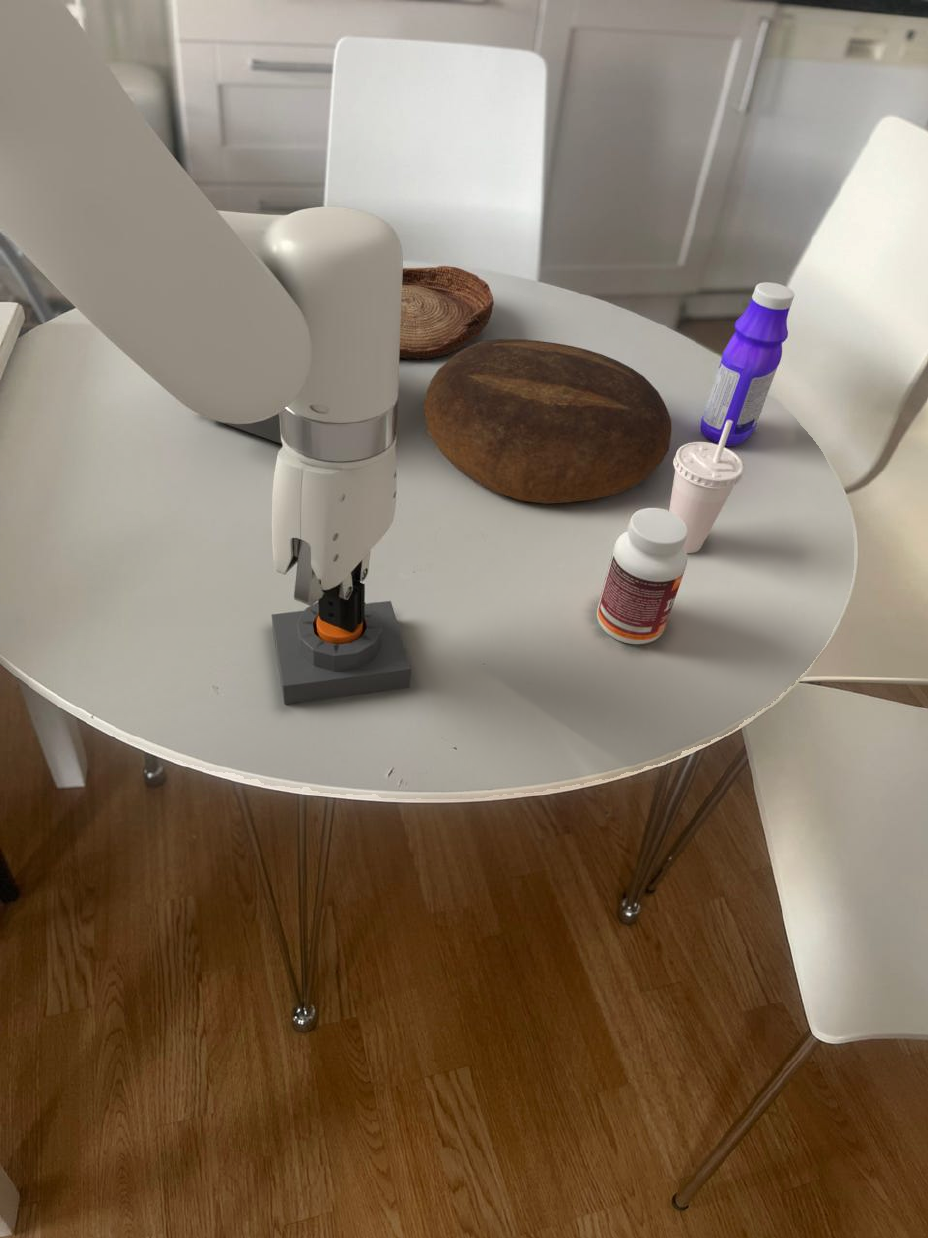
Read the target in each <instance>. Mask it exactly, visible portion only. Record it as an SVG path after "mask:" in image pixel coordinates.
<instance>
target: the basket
mask: <svg viewBox="0 0 928 1238" xmlns="http://www.w3.org/2000/svg"><path fill="white" fill-rule="evenodd" d="M494 301H495V300H494V296H493V293H492V291H491V288H490V286H489V284H488V283H487V282H486V281H485V280H483V279H481V278H480V277H479V276H478V275H476V274H474V273H472V272H470V271H467V270H465V269H462V268H459V267H456V266H449V265H438V266H436V267H430V266H429V267H403V277H402V302H401V326H400V352H399V358H400V359H401V358H402V359H408V360H409V359H410V360H411V359H422V360H427V359H433V358H438V357H441V356H445V355H448V354H450V353H453V352H455V351H457V350H459V349H460V348H462V347H463V346H465V345H466V344H468V343H469V342H471V341H472V340H473V339H475V338H476V337H478V336H479V335H480V334H481V333H482V332H483V331H484V329H485V328H486V327H487V325H488V324H489V322H490V319H491V317H492V314H493V309H494V305H495V304H494V303H495V302H494Z"/></svg>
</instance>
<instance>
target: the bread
mask: <svg viewBox="0 0 928 1238" xmlns="http://www.w3.org/2000/svg"><path fill="white" fill-rule="evenodd" d="M423 410H424V417H425V423H426V429H427V430H426V431H427V432H428V434H429V436H430V437H431V439H432V441H433V442H434V444H435V446H436V447H437V449H438V450H439V452H440V453H441V454H442V455H443V456H444V457H445V458H446V459H447V460H448V461H449V462H450V463H451V464H452V465H453V466H454V467H455V468H456V469H457V470H458V471H460V472H461V473H462V474H464V475H466V476H467V477H469V478H470V479H472V480H473V481H474V482H476V483H478V484H480V485H481V486H483V487H485V488H487V489H489V490H491V491H493V492H494V493H497V494H500V495H503V496H505V497H508V498H513V499H516V500H519V501H523V502H531V503H539V504H558V503H560V504H561V503H572V502H580V501H587V500H593V499H599V498H605V497H610V496H613V495H616V494H619V493H621V492H624V491H627V490H630V489H632V488H633V487H635V486H636V485H638V484H639V483H641V482H643V481H644V480H646V478H647V477H649V476H650V475H651V474H652V473H653V472H654V471H656V469H657V468H659V466H660V465H661V464H662V462H663V461H664V460H665V458H666V456H667V454H668V452H669V451H670V444H671V438H672V431H673V429H672V418H671V415H670V413H669V410H668V407H667V406H666V403H665V401H664V399H663V398H662V396H661V394H660V393H659V391H658V389H656V387H654V386H653V384H652V383H651V382H650V381H649V380H648V379H647V378H646V377H645V376H644V375H643V374H641V373H640V372H638V371H636V370H635V369H634V368H632V367H630V366H628V365H626V364H624V363H623V362H620V361H618V360H617V359H614V358H612V357H609V356H607V355H604V354H601V353H599V352H596V351H593V350H589V349H585V348H583V347H578V346H573V345H568V344H563V343H557V342H551V341H543V340H535V339H534V340H533V339H523V338H522V339H521V338H496V339H490V340H489V339H488V340H483V341H478V342H476V343H474V344H471V345H469V346H467V347H465V348H464V349H461V350H459V351H458V352H457V353H455V354H454V355H453V356H452V357H451V358H450V359H448V360H447V361H446V362H445V363H444V364H442V366H440V367H439V368H438V370H437V371H436V373H435V374H434V375H433V377H432V379H431V380H430V382H429V384H428V387H427V390H426V393H425V397H424V402H423Z"/></svg>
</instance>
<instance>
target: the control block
mask: <svg viewBox="0 0 928 1238" xmlns="http://www.w3.org/2000/svg"><path fill="white" fill-rule="evenodd" d="M318 616H319V606H318V601H316V602H315V603H314V604H313V605H311V606H310V605H308V606H307V607H306V608H305V609H304V610H299V611H298V610H297V611H291V612H289V611H288V612H281V613H272V614H271V624H272V635H273V642H274V646H275V647H274V648H275V654H276V661H277V667H278V673H279V680H280V687H281V693H282V698H283V704H284V705H292V704H299V703H306V702H313V701H320V700H327V699H328V700H329V699H334V698H335V699H336V698H341V697H342V698H343V697H349V696H356V695H363V694H370V693H377V692H378V693H379V692H385V691H391V690H398V689H399V690H400V689H407V688H410V687H411V676H412V668H411V664H410V661H409V658H408V654H407V651H406V646H405V643H404V640H403V638H402V637H403V636H402V633H401V631H400V627H399V624H398V620H397V616H396V614H395V610H394V606H393V604H392V601H391V600H387V601H378V602H369V603H366V602H365V616H364V620H363V631H362V637H360V638H358V639H357V640H355V641H353V642H352V643H346V644H338V645H336V644H332V643H328V642H325V641H323V640H321V639H320V638H319V637H318V636H317V618H318Z"/></svg>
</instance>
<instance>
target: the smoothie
mask: <svg viewBox="0 0 928 1238" xmlns="http://www.w3.org/2000/svg"><path fill="white" fill-rule="evenodd" d="M732 423H733V422H732V421H731V420H727V421H726V424H725V427H724V430H723V433H722V436H721V439H720V442H719V444H718V443H714V442H707V441H693V442H688V443H685V444H683V445H681V446H680V447H679V448H678V449H677V450H676V453H675V456H674V457H673V462H672V464H673V467H674V475H673V482H672V488H671V496H670V501H669V508H668V511H670V512H672V513H674V514H676V515H677V516H679V517H680V518H681V519H682V520H683V521H684V522H685V524H686V525H687V528H688V533H687V537H686V541H685V545H684V546H683V547H684V548H685V550H686V553H687V554H695V553H697V552H699V551H700V550H701V548H702V547H703V544H704V543H705V540H706V539H707V538H708V535H709V533H710V531H711V529H712V527H713V525H714V524H715V522H716V520H717V518H718V517H719V514H720V513H721V511H722V510H723V507H724V505H725V503H726V502H727V500H728V498H729V496H730V494H731V492H732V490H733V488H734V487H735V486H736V485H738V484H739V483H740V481H741V480H742V478H743V473H744V470H745V466H744V461H742V459H741V458H740V456H738V455H737V453H735V452H734V451H732V450H731V449H729V448H727V447H726V446H725V443H726V440H727V438H728V435H729V432H730V429H731V426H732Z"/></svg>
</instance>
